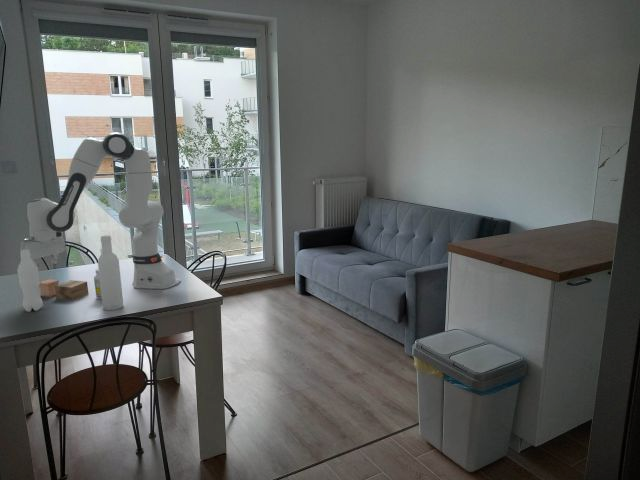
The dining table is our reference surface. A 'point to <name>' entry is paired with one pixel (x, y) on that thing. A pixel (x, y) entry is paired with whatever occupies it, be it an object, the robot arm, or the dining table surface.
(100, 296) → the supplement bottle
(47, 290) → the brown cardboard box
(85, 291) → the walnut box
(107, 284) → the bottle
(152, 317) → the dining table surface
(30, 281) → the water bottle
